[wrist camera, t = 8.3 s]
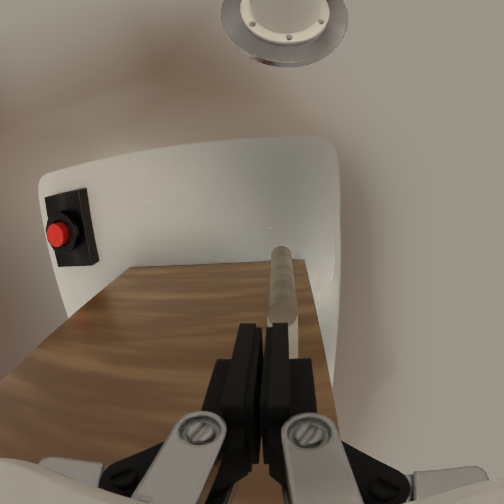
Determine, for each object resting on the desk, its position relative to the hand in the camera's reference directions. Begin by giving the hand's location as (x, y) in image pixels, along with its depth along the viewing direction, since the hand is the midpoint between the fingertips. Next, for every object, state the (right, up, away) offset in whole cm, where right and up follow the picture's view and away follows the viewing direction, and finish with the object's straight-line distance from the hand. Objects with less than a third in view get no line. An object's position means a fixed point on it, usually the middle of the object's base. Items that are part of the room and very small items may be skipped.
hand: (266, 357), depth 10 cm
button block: (-30, +8, +33) cm, 45 cm away
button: (-30, +7, +29) cm, 43 cm away
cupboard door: (-7, +5, +31) cm, 32 cm away
